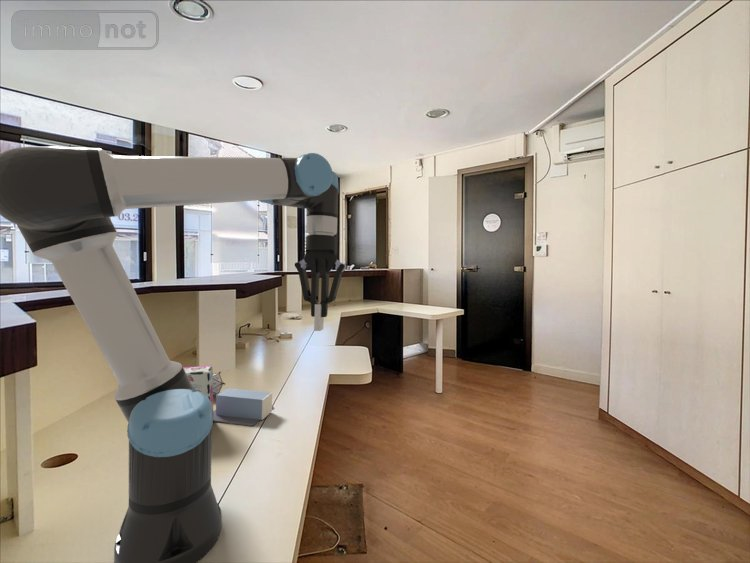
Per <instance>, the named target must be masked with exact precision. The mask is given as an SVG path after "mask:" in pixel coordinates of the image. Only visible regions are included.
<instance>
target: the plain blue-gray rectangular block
mask: <svg viewBox="0 0 750 563" xmlns="http://www.w3.org/2000/svg"><path fill="white" fill-rule="evenodd" d="M215 403H216V404H215V410H216V415H222V416H231V417H241V418H250V419H259V420H260V421H263V420H264V419H265V418H267V417H268V416H269V415H270V413H272V412H273V409H272V406H273V392H269V391H261V390H259V391H258V390H252V389H251V390H250V389H240V388H226V389H224V390H222V391H220V392H219V394H217V395H215Z"/></svg>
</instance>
